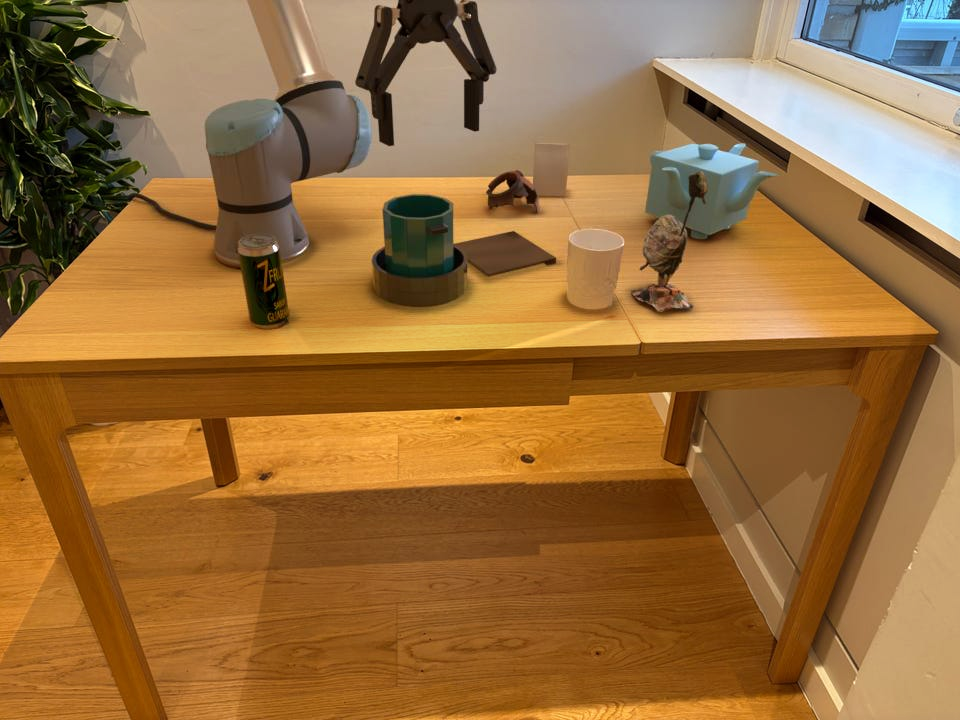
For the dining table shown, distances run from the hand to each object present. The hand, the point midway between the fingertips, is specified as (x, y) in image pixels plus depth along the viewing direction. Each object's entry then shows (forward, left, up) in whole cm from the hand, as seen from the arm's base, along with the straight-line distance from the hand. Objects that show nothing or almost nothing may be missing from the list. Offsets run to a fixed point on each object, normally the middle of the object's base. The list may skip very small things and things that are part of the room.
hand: (430, 136), depth 99 cm
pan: (0, -2, -23) cm, 23 cm away
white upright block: (-26, +40, -23) cm, 53 cm away
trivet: (-4, +15, -23) cm, 28 cm away
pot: (0, -2, -22) cm, 22 cm away
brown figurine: (+20, +28, -23) cm, 41 cm away
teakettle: (+2, +54, -23) cm, 59 cm away
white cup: (+16, +18, -23) cm, 33 cm away
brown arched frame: (-22, +29, -23) cm, 43 cm away
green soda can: (-1, -25, -23) cm, 34 cm away
